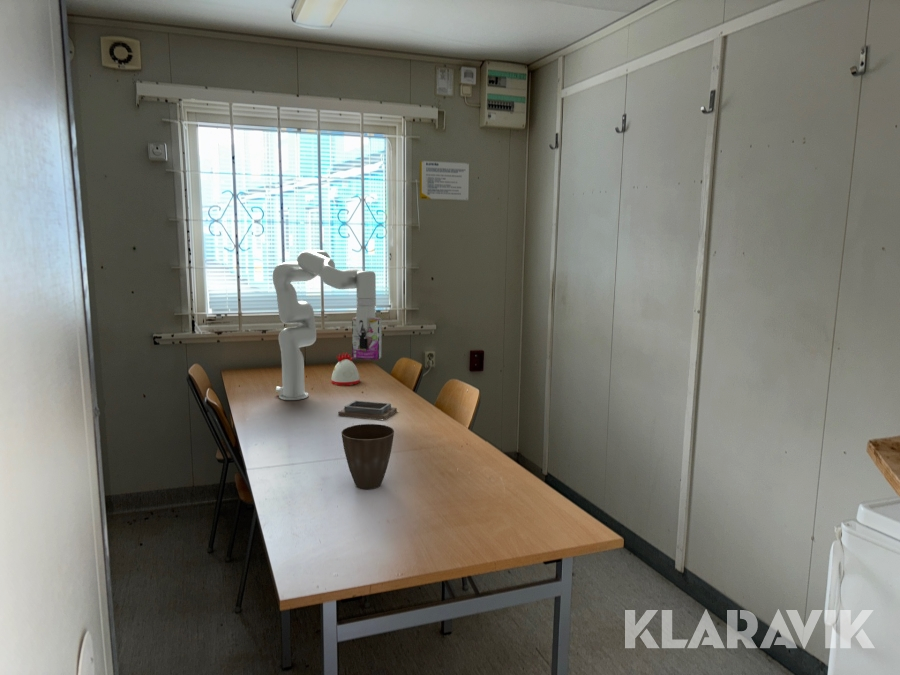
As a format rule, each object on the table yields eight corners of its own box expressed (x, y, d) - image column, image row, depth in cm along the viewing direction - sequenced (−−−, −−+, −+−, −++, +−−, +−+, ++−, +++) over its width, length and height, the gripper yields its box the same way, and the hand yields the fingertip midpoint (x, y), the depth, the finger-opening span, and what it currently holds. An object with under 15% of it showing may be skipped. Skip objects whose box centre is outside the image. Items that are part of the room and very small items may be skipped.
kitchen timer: (328, 380, 310) (327, 351, 307) (355, 378, 315) (354, 349, 313) (335, 386, 297) (334, 356, 295) (363, 384, 303) (362, 354, 300)
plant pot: (348, 474, 186) (347, 423, 184) (397, 475, 186) (396, 424, 183) (337, 494, 172) (336, 439, 169) (390, 495, 171) (390, 440, 169)
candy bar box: (351, 359, 246) (351, 318, 244) (354, 356, 251) (354, 316, 249) (379, 359, 245) (379, 318, 243) (382, 357, 250) (381, 317, 248)
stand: (384, 419, 243) (384, 411, 242) (338, 415, 248) (338, 407, 248) (396, 411, 255) (396, 403, 254) (352, 407, 260) (352, 399, 260)
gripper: (366, 300, 254) (366, 343, 257) (348, 304, 238) (349, 350, 240) (383, 300, 252) (383, 344, 255) (366, 304, 236) (366, 351, 238)
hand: (366, 346), depth 248 cm, fingers closed on candy bar box, 5 cm apart
